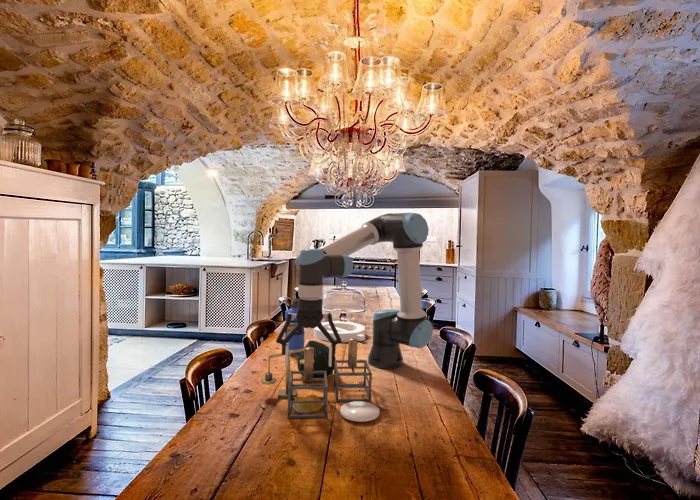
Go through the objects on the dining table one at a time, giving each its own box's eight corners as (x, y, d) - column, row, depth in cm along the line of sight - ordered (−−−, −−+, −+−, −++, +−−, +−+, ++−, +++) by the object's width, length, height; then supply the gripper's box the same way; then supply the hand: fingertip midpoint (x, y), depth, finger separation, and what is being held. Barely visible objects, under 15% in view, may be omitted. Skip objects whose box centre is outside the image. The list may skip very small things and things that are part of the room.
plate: (375, 405, 126) (376, 401, 126) (382, 423, 114) (382, 418, 114) (338, 406, 125) (339, 401, 125) (341, 424, 113) (341, 419, 113)
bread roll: (326, 410, 122) (326, 397, 122) (300, 416, 117) (300, 403, 117) (313, 400, 129) (314, 388, 129) (288, 406, 124) (289, 394, 124)
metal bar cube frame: (365, 385, 143) (367, 334, 142) (371, 401, 129) (372, 344, 128) (333, 385, 142) (334, 334, 141) (335, 401, 128) (337, 344, 127)
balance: (313, 391, 136) (314, 345, 135) (313, 397, 131) (314, 349, 130) (261, 392, 134) (262, 345, 133) (259, 398, 129) (260, 349, 128)
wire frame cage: (325, 398, 130) (327, 342, 130) (327, 417, 117) (328, 355, 116) (290, 398, 129) (291, 342, 128) (287, 418, 115) (288, 355, 115)
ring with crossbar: (365, 343, 200) (365, 334, 200) (310, 341, 200) (311, 332, 200) (364, 330, 228) (364, 322, 228) (316, 328, 228) (316, 320, 228)
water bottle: (298, 356, 175) (300, 300, 174) (280, 353, 178) (281, 299, 177) (307, 350, 184) (309, 297, 183) (290, 348, 187) (291, 296, 186)
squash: (348, 361, 152) (326, 330, 156) (330, 375, 139) (306, 340, 142) (324, 380, 158) (303, 349, 161) (304, 394, 144) (282, 360, 147)
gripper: (348, 296, 127) (346, 361, 127) (271, 295, 124) (269, 361, 125) (351, 300, 119) (348, 369, 120) (268, 299, 117) (266, 369, 117)
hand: (308, 365), depth 122 cm, fingers open, 13 cm apart
